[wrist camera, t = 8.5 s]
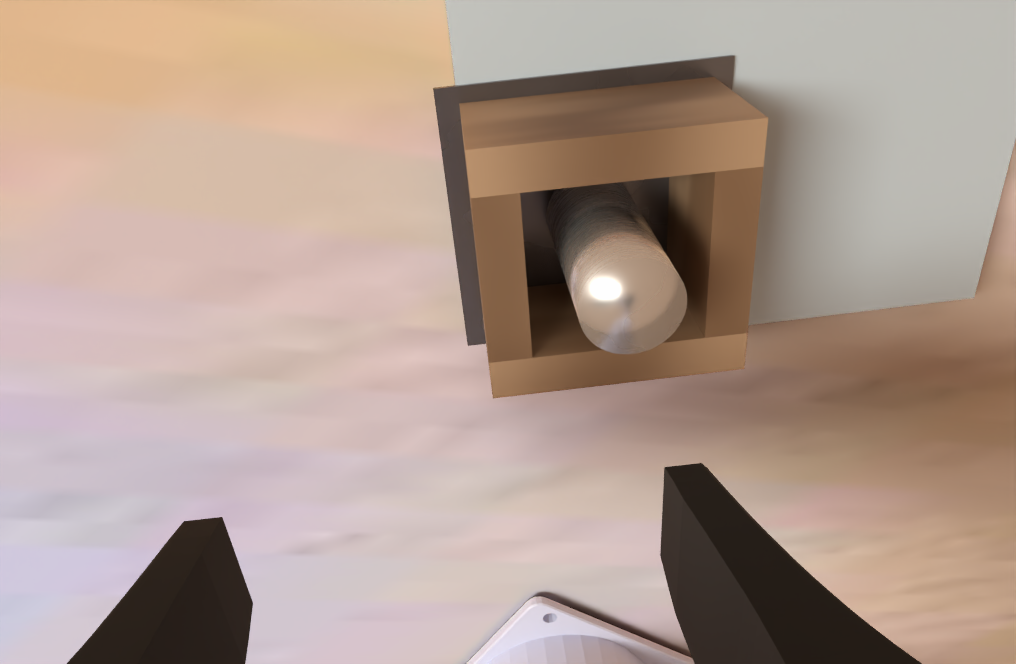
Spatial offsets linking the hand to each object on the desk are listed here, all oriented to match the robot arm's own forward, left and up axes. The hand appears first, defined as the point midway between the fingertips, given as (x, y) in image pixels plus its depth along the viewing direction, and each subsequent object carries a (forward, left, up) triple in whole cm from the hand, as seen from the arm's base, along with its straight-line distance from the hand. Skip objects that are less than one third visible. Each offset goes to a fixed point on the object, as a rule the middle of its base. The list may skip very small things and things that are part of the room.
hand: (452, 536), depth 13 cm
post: (-2, -4, -10) cm, 11 cm away
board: (-4, -8, -10) cm, 13 cm away
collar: (-2, -4, -9) cm, 10 cm away
